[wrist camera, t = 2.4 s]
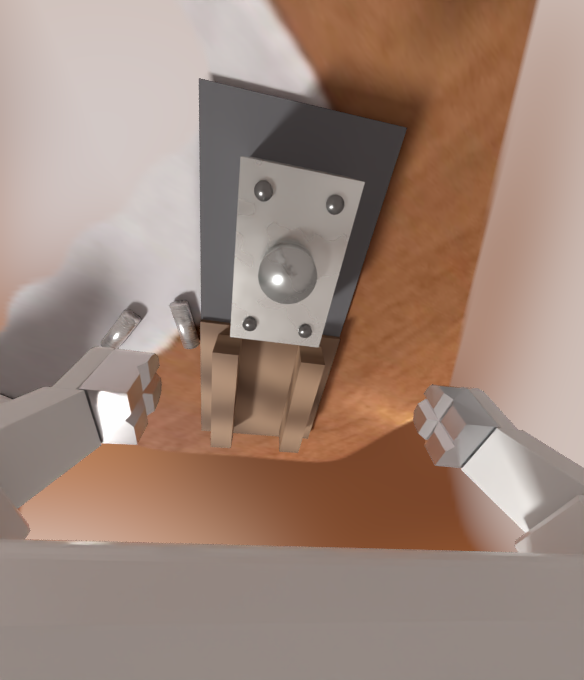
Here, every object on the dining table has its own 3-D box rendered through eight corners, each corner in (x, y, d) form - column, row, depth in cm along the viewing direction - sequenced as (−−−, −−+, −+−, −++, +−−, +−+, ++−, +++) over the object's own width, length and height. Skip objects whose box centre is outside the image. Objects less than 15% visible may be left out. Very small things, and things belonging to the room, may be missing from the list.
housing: (250, 156, 17) (238, 156, 12) (344, 175, 17) (370, 183, 12) (239, 303, 22) (227, 345, 17) (311, 312, 23) (320, 356, 18)
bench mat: (200, 80, 15) (198, 78, 15) (404, 128, 16) (407, 127, 16) (202, 326, 24) (201, 329, 23) (335, 343, 25) (336, 346, 25)
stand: (202, 317, 23) (191, 339, 20) (338, 334, 25) (346, 357, 22) (203, 424, 31) (195, 451, 28) (307, 432, 32) (309, 459, 29)
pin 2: (170, 301, 22) (168, 308, 21) (188, 298, 23) (187, 306, 21) (184, 341, 25) (182, 350, 23) (200, 338, 25) (199, 347, 24)
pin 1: (120, 308, 22) (125, 321, 21) (137, 311, 23) (143, 323, 23) (98, 338, 23) (103, 351, 23) (115, 339, 25) (120, 351, 24)
